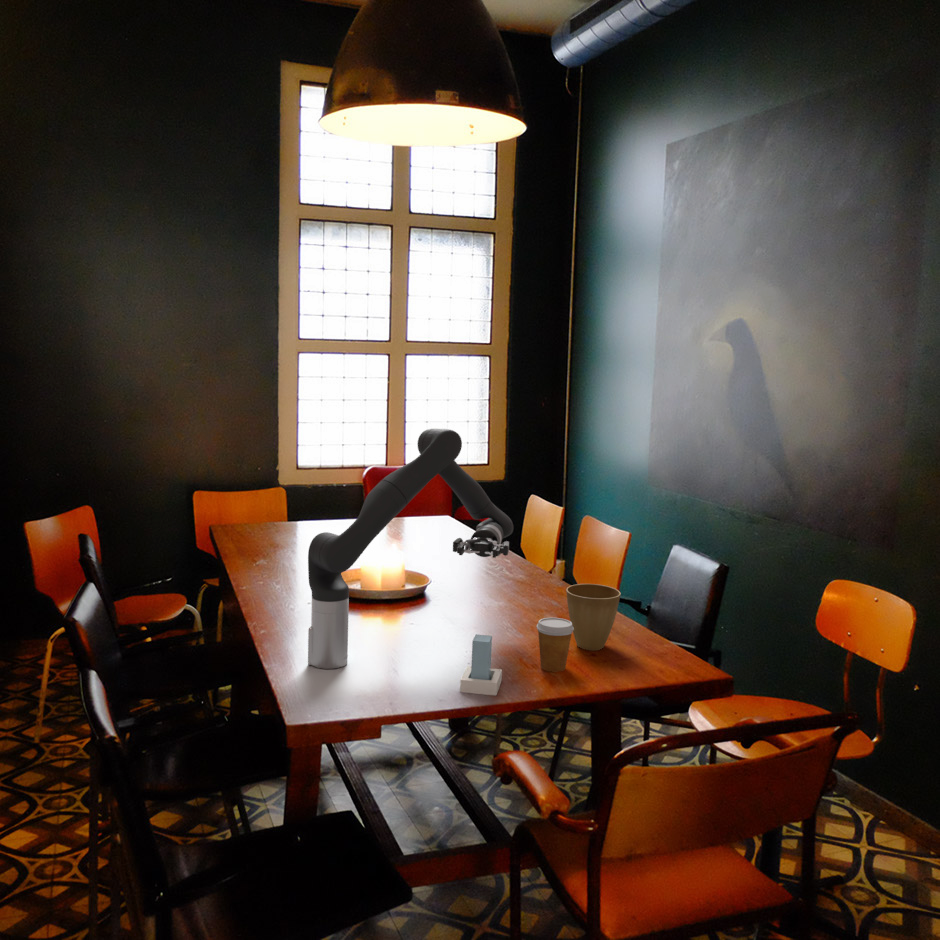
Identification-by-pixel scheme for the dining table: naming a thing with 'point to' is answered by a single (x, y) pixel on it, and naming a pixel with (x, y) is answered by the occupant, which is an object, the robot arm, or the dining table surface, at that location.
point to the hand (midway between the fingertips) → (477, 552)
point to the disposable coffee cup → (554, 642)
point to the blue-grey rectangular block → (481, 657)
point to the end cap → (481, 683)
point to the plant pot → (592, 613)
